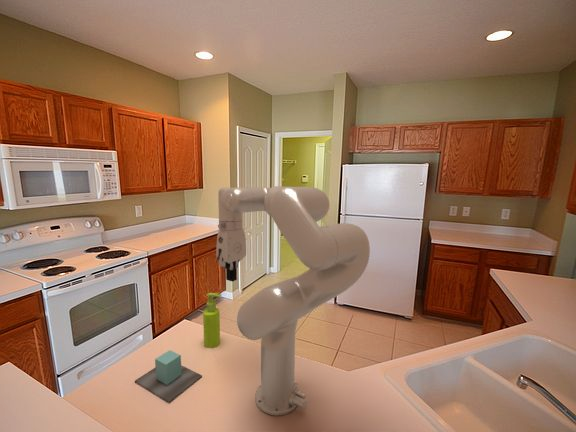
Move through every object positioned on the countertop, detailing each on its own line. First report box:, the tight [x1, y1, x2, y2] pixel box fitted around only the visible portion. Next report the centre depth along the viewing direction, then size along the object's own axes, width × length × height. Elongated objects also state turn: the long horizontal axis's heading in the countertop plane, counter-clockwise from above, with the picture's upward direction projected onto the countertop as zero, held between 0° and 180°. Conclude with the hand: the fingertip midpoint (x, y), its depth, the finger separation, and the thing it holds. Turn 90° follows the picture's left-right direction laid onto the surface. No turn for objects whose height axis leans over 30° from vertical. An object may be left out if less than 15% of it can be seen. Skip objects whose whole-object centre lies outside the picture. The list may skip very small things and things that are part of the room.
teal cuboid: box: [154, 349, 182, 385], centre depth 84 cm, size 5×5×7 cm
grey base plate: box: [134, 364, 203, 404], centre depth 84 cm, size 16×12×7 cm
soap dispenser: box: [202, 292, 222, 349], centre depth 103 cm, size 6×7×20 cm
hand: (231, 279), depth 91 cm, fingers closed
